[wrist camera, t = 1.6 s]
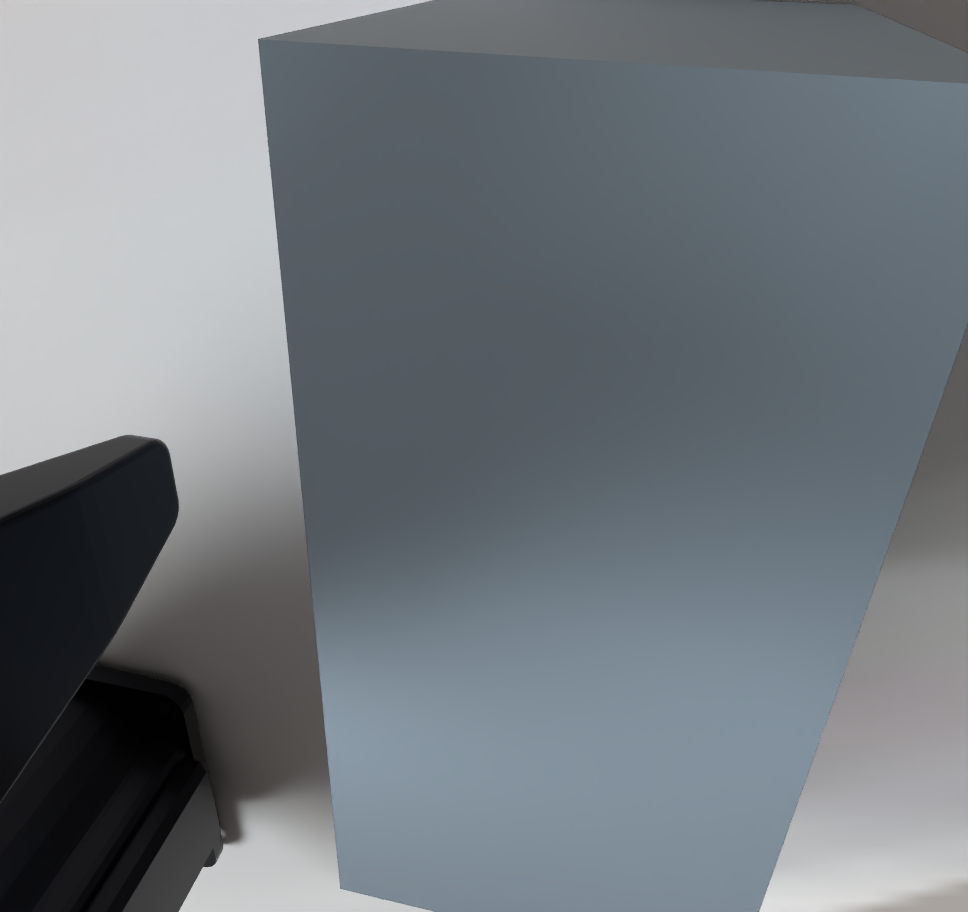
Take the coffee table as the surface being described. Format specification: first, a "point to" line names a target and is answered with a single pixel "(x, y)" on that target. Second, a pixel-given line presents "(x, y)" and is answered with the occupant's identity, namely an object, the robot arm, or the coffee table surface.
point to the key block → (603, 419)
